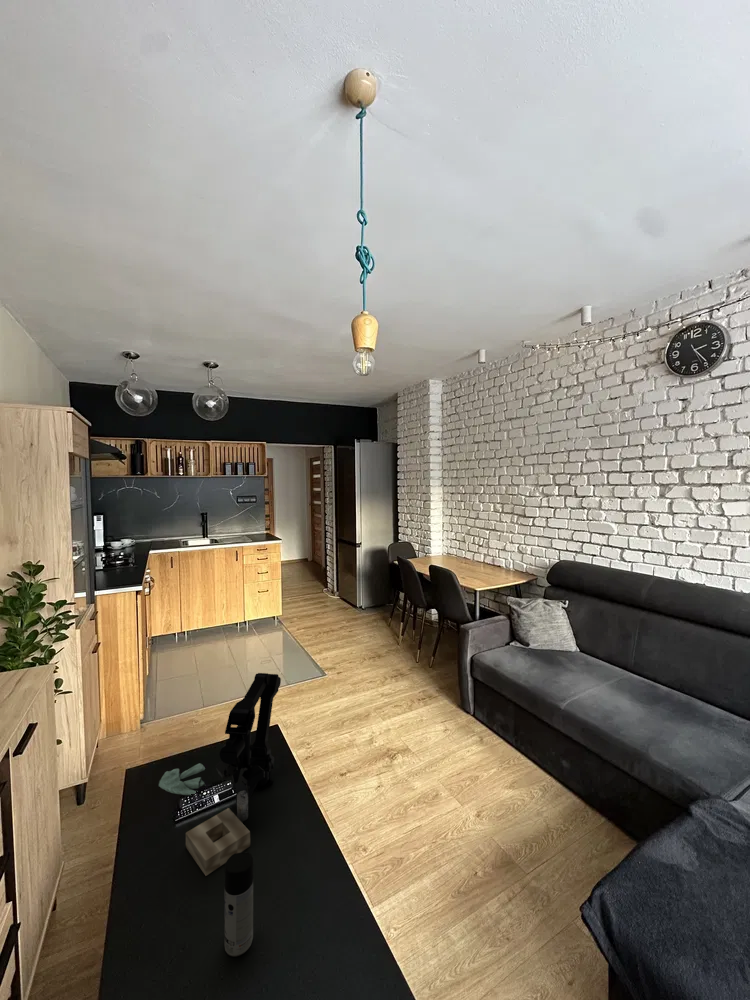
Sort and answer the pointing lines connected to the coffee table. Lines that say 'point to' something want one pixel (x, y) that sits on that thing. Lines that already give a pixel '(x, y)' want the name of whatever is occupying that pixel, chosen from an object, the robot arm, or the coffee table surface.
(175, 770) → the cloth
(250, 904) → the spray can
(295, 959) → the coffee table surface
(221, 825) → the socket board
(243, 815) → the peg
